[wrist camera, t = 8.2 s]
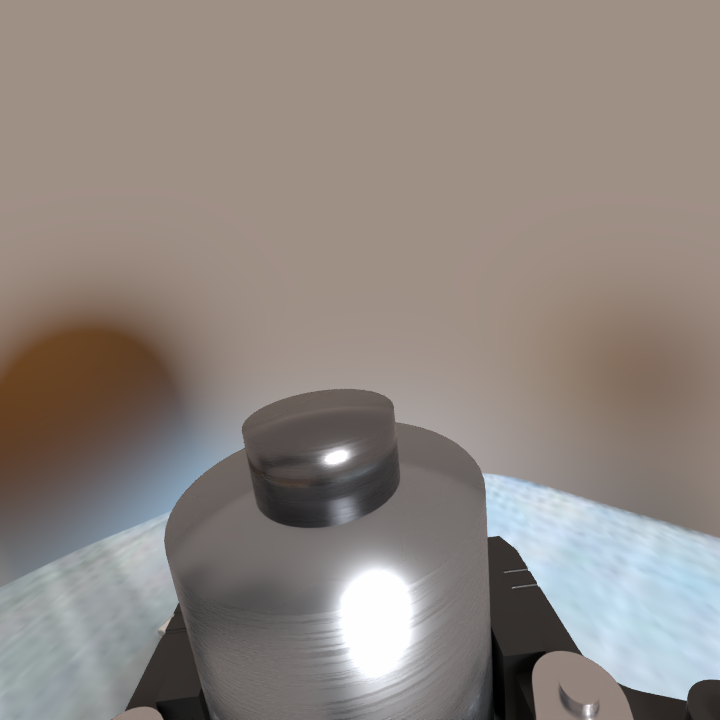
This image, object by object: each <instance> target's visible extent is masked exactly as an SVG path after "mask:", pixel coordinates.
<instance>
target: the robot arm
mask: <svg viewBox="0 0 720 720" xmlns="http://www.w3.org/2000/svg"><path fill="white" fill-rule="evenodd" d="M487 541H488V567H489V592H490V618H491V644H492V670H493V696H494V720H720V680H703V681H700V682H697V683H696V684H694V685H693V686H692V687H691V689H690V690H689V693H688V697H687V701H684V700H679V699H675V698H670V697H665V696H660V695H655V694H651V693H646V692H641V691H638V690H634V689H631V688H628V687H626V686H623V685H621V684H619V683H617V682H616V681H615V679H614V678H613V677H612V676H611V675H610V674H609V673H608V672H607V671H606V670H604V669H603V668H602V667H601V666H599V665H598V664H597V663H595V662H594V661H592V660H590V659H588V658H586V657H584V656H583V655H582V653H581V652H580V650H579V649H578V648H577V646H576V644H575V643H574V641H573V640H572V638H571V636H570V635H569V633H568V632H567V630H566V628H565V627H564V625H563V624H562V622H561V620H560V619H559V617H558V616H557V614H556V612H555V611H554V609H553V608H552V606H551V604H550V603H549V601H548V600H547V598H546V596H545V595H544V593H543V592H542V590H541V588H540V587H538V585H537V582H536V580H535V579H534V577H533V576H532V574H531V572H530V571H528V568H527V566H526V564H525V563H524V561H523V560H522V558H521V556H520V555H519V553H518V552H517V550H516V549H515V548H514V547H512V546H511V545H510V544H508V543H507V542H506V541H505V540H503V539H502V538H501V537H500V536H496V537H488V538H487ZM111 720H211V719H210V715H209V711H208V708H207V704H206V700H205V697H204V693H203V689H202V685H201V682H200V678H199V674H198V671H197V667H196V663H195V659H194V656H193V652H192V648H191V645H190V641H189V637H188V633H187V630H186V626H185V622H184V619H183V615H182V611H181V607H180V604H179V603H178V605H177V607H176V609H175V611H174V616H173V617H172V618H171V620H170V622H169V624H168V626H167V628H166V630H165V635H163V636H162V638H161V640H160V642H159V644H158V646H157V648H156V650H155V652H154V654H153V656H152V658H151V660H150V662H149V664H148V666H147V668H146V670H145V672H144V674H143V676H142V678H141V680H140V682H139V684H138V686H137V688H136V690H135V692H134V694H133V696H132V698H131V700H130V702H129V704H128V706H127V708H126V710H125V712H123V713H121V714H119V715H117V716H116V717H114V718H113V719H111Z"/></svg>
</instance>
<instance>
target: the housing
mask: <svg viewBox="0 0 720 720" xmlns="http://www.w3.org/2000/svg"><path fill="white" fill-rule="evenodd" d="M242 434H243V439H244V444H245V448H244V449H242V450H240V451H238V452H236V453H234V454H232V455H230V456H229V457H227V458H225V459H224V460H222V461H221V462H219V463H217V464H216V465H215V466H213V467H212V468H210V469H209V470H208V471H206V472H205V473H204V474H203V475H202V476H200V477H199V478H198V479H197V480H196V481H195V482H194V483H193V484H192V485H191V486H190V487H189V488H188V489H187V490H186V491H185V492H184V494H183V495H182V496H181V498H180V499H179V500H178V502H177V503H176V505H175V507H174V509H173V510H172V512H171V514H170V517H169V519H168V522H167V525H166V530H165V539H164V542H165V549H166V555H167V559H168V563H169V567H170V570H171V574H172V578H173V581H174V585H175V589H176V593H177V596H178V600H179V604H180V607H181V611H182V615H183V619H184V622H185V626H186V630H187V633H188V637H189V641H190V645H191V648H192V652H193V656H194V659H195V663H196V667H197V671H198V674H199V678H200V682H201V685H202V689H203V693H204V697H205V700H206V704H207V708H208V711H209V715H210V719H211V720H494V696H493V670H492V644H491V618H490V592H489V567H488V541H487V515H486V491H485V483H484V478H483V476H482V473H481V470H480V468H479V466H478V465H477V463H476V462H475V460H474V459H473V458H472V457H471V456H470V455H469V454H468V453H467V452H466V451H465V450H464V449H463V448H462V447H460V446H459V445H458V444H456V443H455V442H453V441H452V440H450V439H448V438H446V437H444V436H442V435H440V434H438V433H435V432H433V431H430V430H427V429H424V428H421V427H416V426H413V425H408V424H402V423H396V422H395V416H394V406H393V403H392V402H391V400H390V399H388V398H387V397H385V396H383V395H381V394H379V393H375V392H372V391H366V390H356V389H334V390H323V391H316V392H310V393H305V394H300V395H296V396H292V397H289V398H286V399H282V400H279V401H277V402H274V403H272V404H269V405H267V406H265V407H263V408H261V409H259V410H258V411H256V412H255V413H253V414H252V415H251V416H250V417H249V418H248V419H247V420H246V421H245V422H244V424H243V426H242Z"/></svg>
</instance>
